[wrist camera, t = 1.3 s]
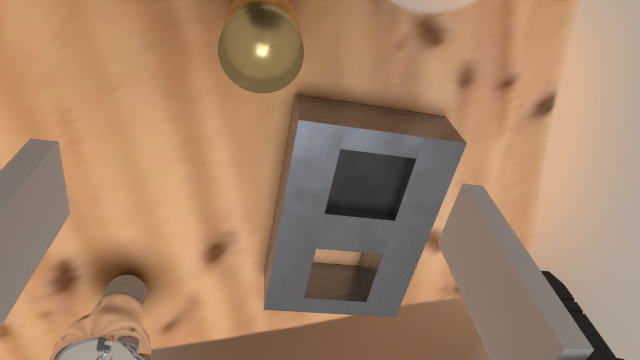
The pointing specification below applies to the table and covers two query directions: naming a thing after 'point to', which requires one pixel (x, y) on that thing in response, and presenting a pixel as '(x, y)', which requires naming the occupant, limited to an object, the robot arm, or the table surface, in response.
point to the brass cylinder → (261, 45)
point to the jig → (356, 204)
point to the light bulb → (109, 327)
